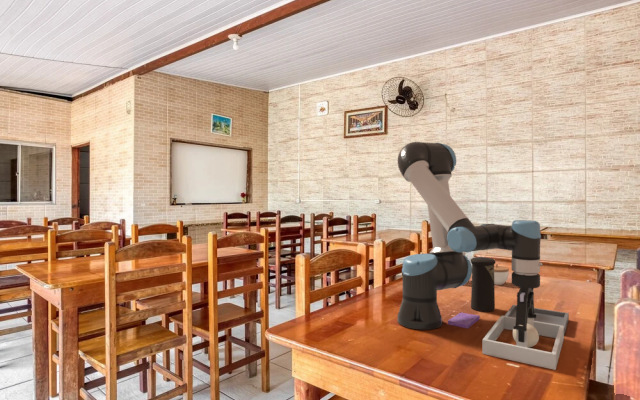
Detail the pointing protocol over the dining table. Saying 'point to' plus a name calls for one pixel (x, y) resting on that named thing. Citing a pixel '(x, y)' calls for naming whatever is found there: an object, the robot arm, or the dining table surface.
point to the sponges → (463, 320)
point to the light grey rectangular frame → (524, 353)
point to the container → (483, 284)
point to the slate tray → (545, 316)
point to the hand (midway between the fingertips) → (525, 345)
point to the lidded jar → (500, 274)
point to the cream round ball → (529, 335)
